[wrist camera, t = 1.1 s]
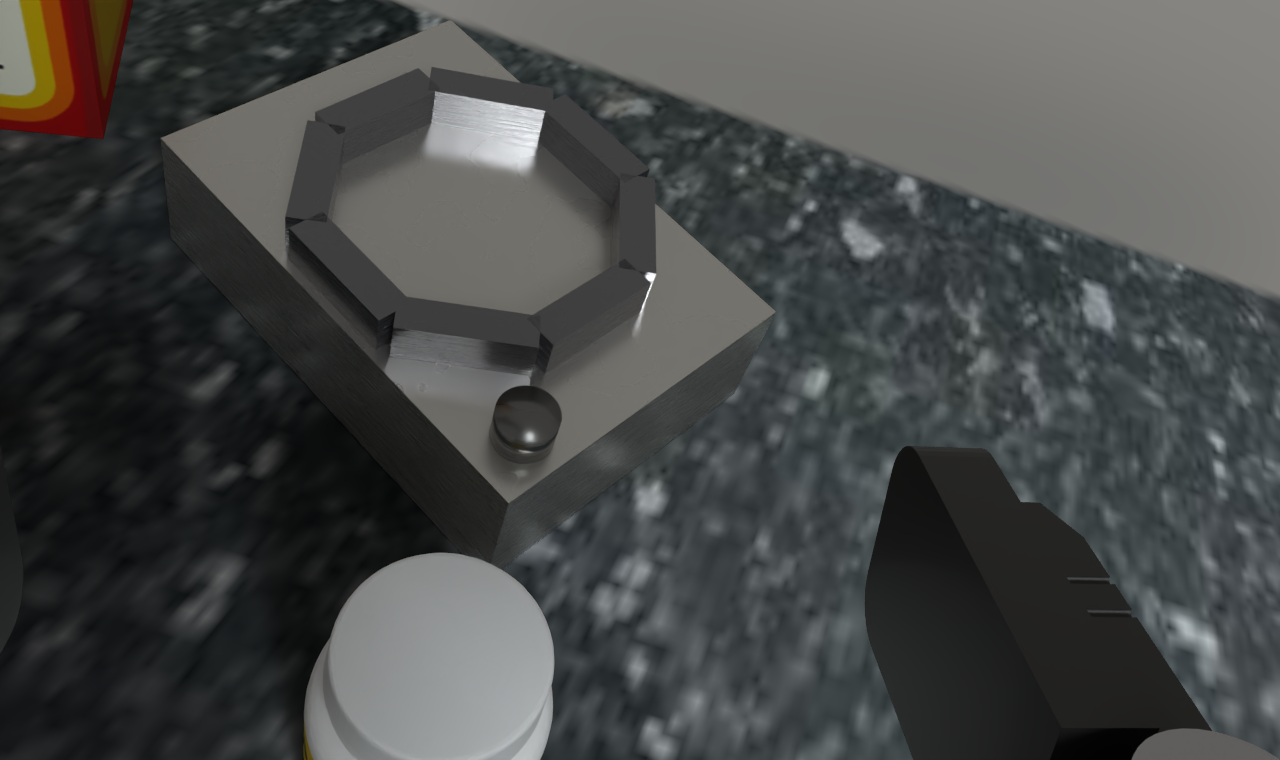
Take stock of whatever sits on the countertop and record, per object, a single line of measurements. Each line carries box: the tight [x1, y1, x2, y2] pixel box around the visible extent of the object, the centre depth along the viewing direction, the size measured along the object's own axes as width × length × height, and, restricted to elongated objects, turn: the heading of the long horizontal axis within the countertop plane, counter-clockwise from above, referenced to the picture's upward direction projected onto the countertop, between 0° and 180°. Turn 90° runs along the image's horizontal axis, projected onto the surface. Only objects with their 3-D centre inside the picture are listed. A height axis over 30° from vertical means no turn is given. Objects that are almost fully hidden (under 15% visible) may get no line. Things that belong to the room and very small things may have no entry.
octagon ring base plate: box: [161, 20, 776, 569], centre depth 34 cm, size 14×10×5 cm
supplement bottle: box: [303, 553, 554, 760], centre depth 25 cm, size 5×5×8 cm
